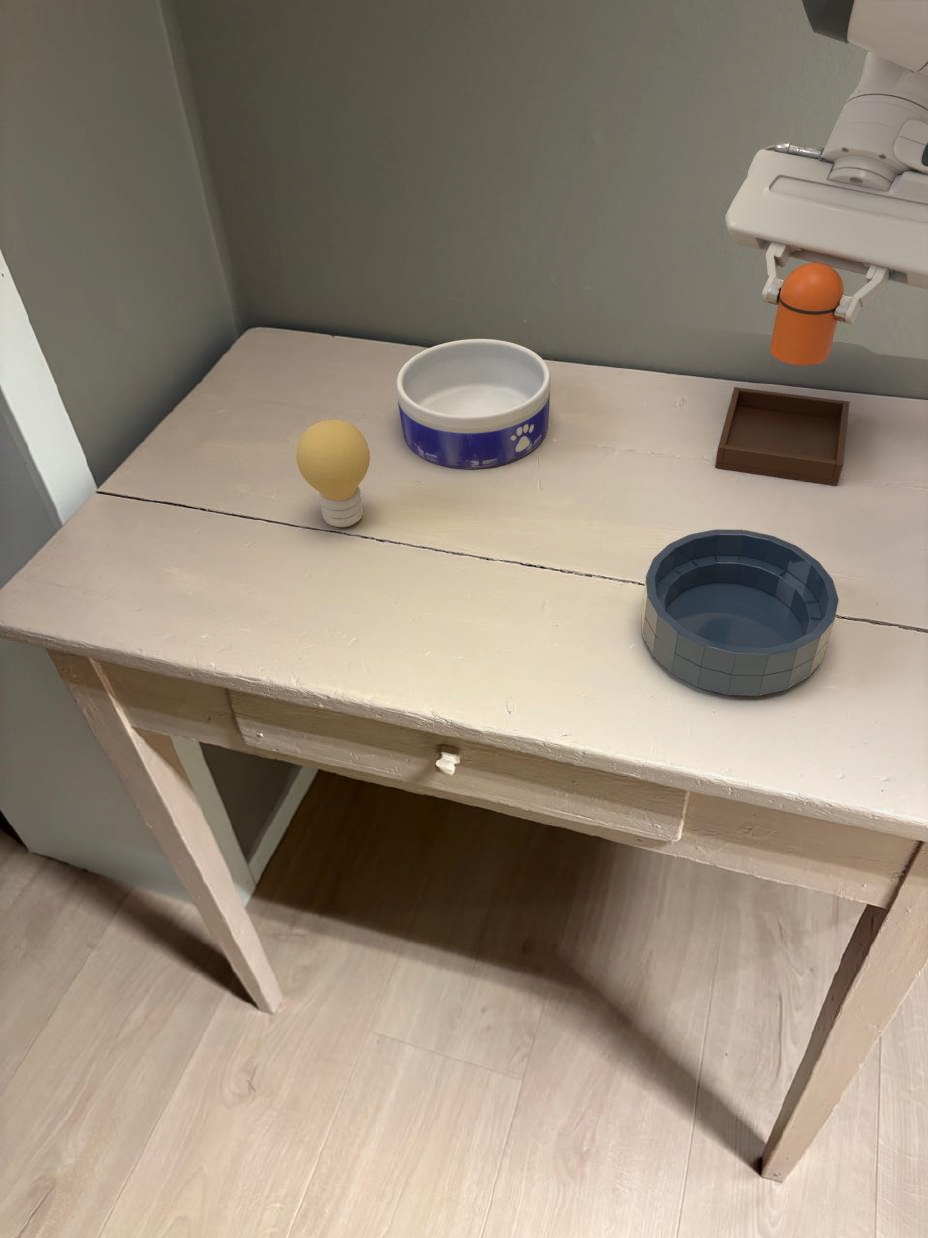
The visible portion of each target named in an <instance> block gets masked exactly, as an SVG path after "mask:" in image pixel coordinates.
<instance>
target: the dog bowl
mask: <svg viewBox="0 0 928 1238" xmlns="http://www.w3.org/2000/svg"><path fill="white" fill-rule="evenodd" d="M395 381H396V395H397V405H398V412H399V418H400V425H401V429H402V435H403V439H404V441H405V443H406V444H407V446H408V447H409V448H410V449H411V451H412V452H414V454H416V455H417V456H419V457H420V458H422V459H424V460H425V461H428V462H431V463H433V464H436V465H439V466H443V467H447V468H454V469H465V470H477V469H487V468H494V467H498V466H503V465H506V464H509V463H512V462H516V461H517V460H520V459H521V458H523V457H525V456H527V455H528V454H530V453H532V452H533V451H534V450H536V449H537V448H538V447H539V446H540V444H541V443H542V442H543V441H544V439H545V438H546V435H547V433H548V428H549V419H550V417H549V416H550V403H551V402H550V400H551V372H550V369H549V366H548V364H547V362H545V360H544V359H543V358H542V357H541V356H540V355H538V354H537V353H536V352H534V351H533V350H531V349H529V348H527V347H525V346H523V345H520V344H517V343H515V342H514V343H513V342H509V341H505V340H501V339H500V340H499V339H493V338H492V339H491V338H469V339H460V340H459V339H458V340H453V341H449V342H444V343H442V344H437V345H434V346H431V347H429V348H427V349H425V350H422V351H420V352H419V353H417V354H416V355H414V356H413V357H411V358H410V359H408V360H407V361H406V363H404V364H403V366H402V367H401V369H400V370H399V371H398V374H397V377H396V380H395Z"/></svg>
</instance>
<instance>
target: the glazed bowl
mask: <svg viewBox="0 0 928 1238" xmlns="http://www.w3.org/2000/svg"><path fill="white" fill-rule="evenodd" d="M643 588H644V589H643V599H642V607H641V615H640V616H641V617H640V618H641V635H642V638H643V639H644V641H645V643H646V645H647V647H648V649H649V651H650V653H651V655H652V656H653V657H654V658H655V659H656V660H657V661H658V662H659V663H660V664H661V665H662V666H663V667H664V668H665V669H666V670H667V671H669V673H671V674H672V675H674V676H676V677H677V678H679V679H681V680H683V681H685V682H686V683H689V684H691V685H693V686H694V687H697V688H700V689H702V690H703V689H704V690H707V691H711V692H714V693H718V694H722V695H726V696H746V697H747V696H748V697H750V696H751V697H758V696H764V695H769V694H773V693H774V694H775V693H779V692H782V691H786V690H788V689H790V688H792V687H793V686H795V685H797V684H799V683H800V682H803V681H805V680H806V679H808V678H809V677H810V676H811V675H812V673H814V671H815V670H816V669H817V667H818V666H819V665H820V664H821V662H822V661H823V658H824V655H825V652H826V649H827V646H828V644H829V643H828V642H829V639H830V637H831V633H832V629H833V627H834V623H835V620H836V615H837V611H838V606H839V595H838V592H837V590H836V585H835V582H834V580H833V578H832V577H831V575H830V574H829V572H828V571H827V570H826V569H825V568H824V566H823V565H822V563H821V562H820V561H819V560H818V559H816V558H815V557H814V556H811V555H810V554H809V553H807V552H806V551H805V550H804V549H802V548H801V547H800V546H798V545H796V544H794V543H791V542H788V541H786V540H784V539H781V538H780V537H777V536H775V535H770V534H767V533H763V532H762V533H760V532H757V531H751V530H748V529H723V528H722V529H719V528H717V529H710V530H705V531H699V532H695V533H690V534H688V535H686V536H683V537H682V538H681V537H680V538H679V539H676V540H675V541H673V542H670V543H668V544H667V545H666V546H665V547H664V548H663V549H662V550H661V551H660V552H659V553H658V554H656V555H655V556H654V557H653V558H652V560H651V562H650V565H649V567H648V570H647V573H646V574H645V580H644V587H643Z"/></svg>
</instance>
